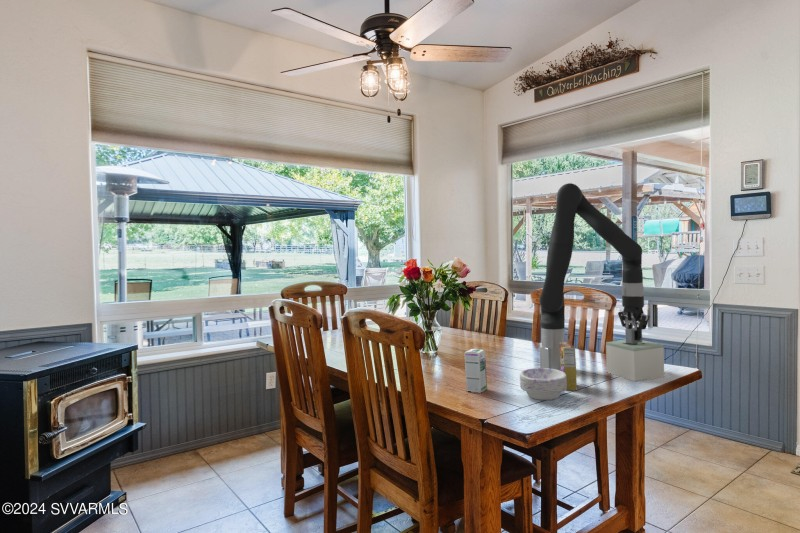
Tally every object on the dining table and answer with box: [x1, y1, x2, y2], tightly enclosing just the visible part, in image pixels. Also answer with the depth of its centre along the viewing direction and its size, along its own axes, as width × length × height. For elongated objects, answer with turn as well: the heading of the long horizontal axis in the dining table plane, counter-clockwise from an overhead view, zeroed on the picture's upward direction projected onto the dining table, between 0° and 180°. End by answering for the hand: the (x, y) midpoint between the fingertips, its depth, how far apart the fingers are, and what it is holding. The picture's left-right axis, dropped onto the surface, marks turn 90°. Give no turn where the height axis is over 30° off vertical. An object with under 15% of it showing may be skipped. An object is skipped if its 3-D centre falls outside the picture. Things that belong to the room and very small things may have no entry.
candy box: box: [559, 341, 578, 391], centre depth 173 cm, size 9×4×15 cm, turn 171°
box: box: [605, 339, 665, 382], centre depth 185 cm, size 14×14×12 cm
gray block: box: [624, 327, 643, 343], centre depth 185 cm, size 5×3×5 cm, turn 109°
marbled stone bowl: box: [519, 367, 567, 401], centre depth 164 cm, size 15×15×8 cm
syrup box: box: [464, 348, 488, 394], centre depth 173 cm, size 6×6×14 cm
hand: (633, 339), depth 185 cm, fingers closed on gray block, 3 cm apart
